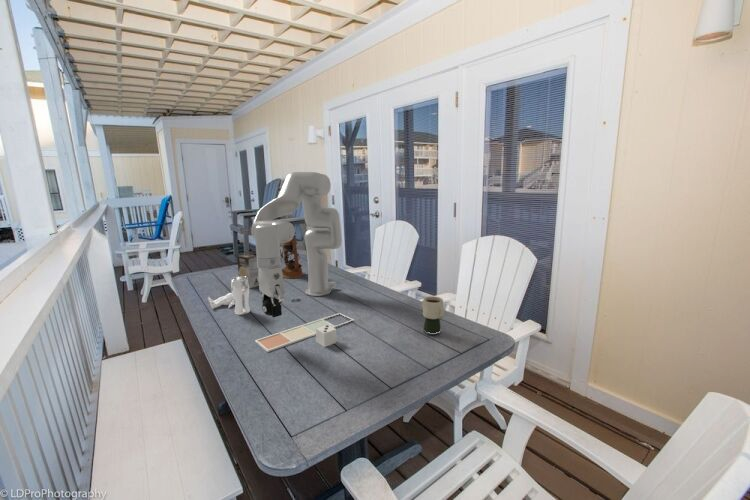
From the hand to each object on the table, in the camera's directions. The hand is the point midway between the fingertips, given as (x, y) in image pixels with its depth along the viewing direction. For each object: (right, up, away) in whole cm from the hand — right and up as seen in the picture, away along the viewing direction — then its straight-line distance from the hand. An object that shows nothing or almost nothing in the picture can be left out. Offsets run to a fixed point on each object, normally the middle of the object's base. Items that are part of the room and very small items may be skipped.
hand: (272, 312), depth 117 cm
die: (+18, -11, +3) cm, 21 cm away
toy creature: (-32, -4, +37) cm, 49 cm away
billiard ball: (0, -1, 0) cm, 1 cm away
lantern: (-13, +7, +82) cm, 83 cm away
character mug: (+56, -9, +10) cm, 58 cm away
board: (+10, -9, +11) cm, 17 cm away
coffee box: (-31, +2, +64) cm, 71 cm away
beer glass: (-21, -5, +29) cm, 36 cm away
